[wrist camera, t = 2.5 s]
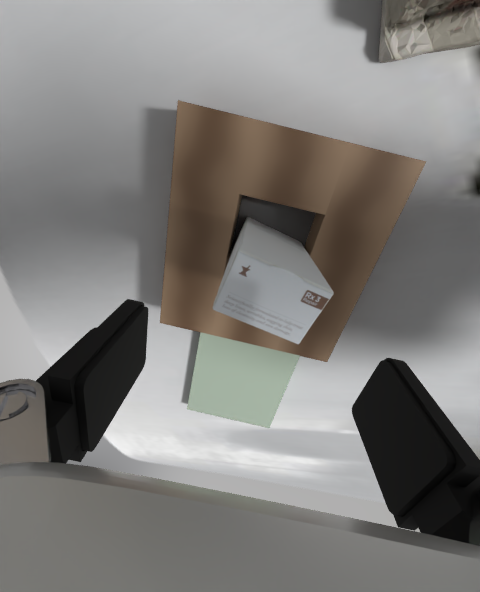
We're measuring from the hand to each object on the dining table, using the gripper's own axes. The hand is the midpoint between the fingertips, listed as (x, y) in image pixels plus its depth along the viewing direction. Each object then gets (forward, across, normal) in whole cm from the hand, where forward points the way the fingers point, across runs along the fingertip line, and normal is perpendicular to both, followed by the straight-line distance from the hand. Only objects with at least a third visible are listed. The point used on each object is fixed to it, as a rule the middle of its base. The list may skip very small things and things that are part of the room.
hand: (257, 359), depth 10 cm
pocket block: (+17, -1, 0) cm, 17 cm away
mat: (+17, -2, +18) cm, 25 cm away
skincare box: (+17, -1, 0) cm, 17 cm away
